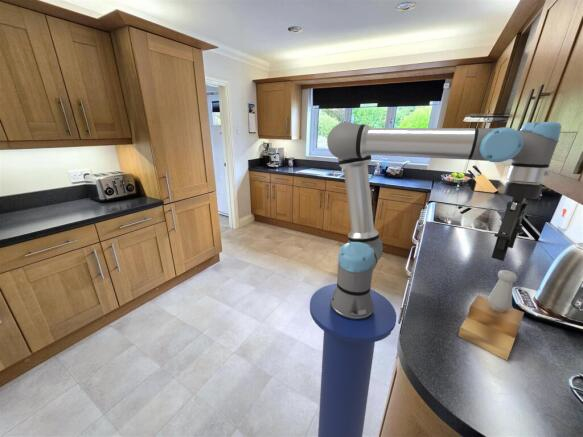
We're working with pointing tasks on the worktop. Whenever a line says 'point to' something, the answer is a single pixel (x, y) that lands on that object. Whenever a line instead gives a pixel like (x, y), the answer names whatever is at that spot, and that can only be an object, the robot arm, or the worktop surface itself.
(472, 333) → the stepped wooden block
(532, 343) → the worktop surface
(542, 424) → the worktop surface
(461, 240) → the worktop surface
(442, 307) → the worktop surface
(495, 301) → the salt shaker
